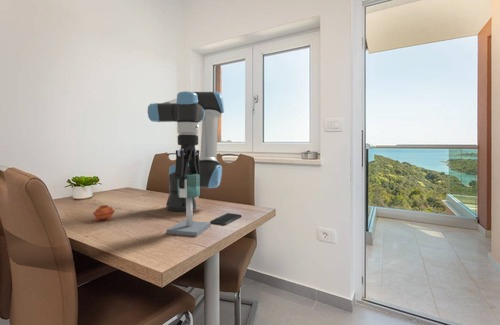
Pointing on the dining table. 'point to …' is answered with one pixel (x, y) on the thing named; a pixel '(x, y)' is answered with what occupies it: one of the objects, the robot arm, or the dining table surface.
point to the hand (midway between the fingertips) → (188, 195)
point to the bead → (192, 185)
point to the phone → (225, 219)
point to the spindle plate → (189, 230)
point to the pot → (103, 212)
